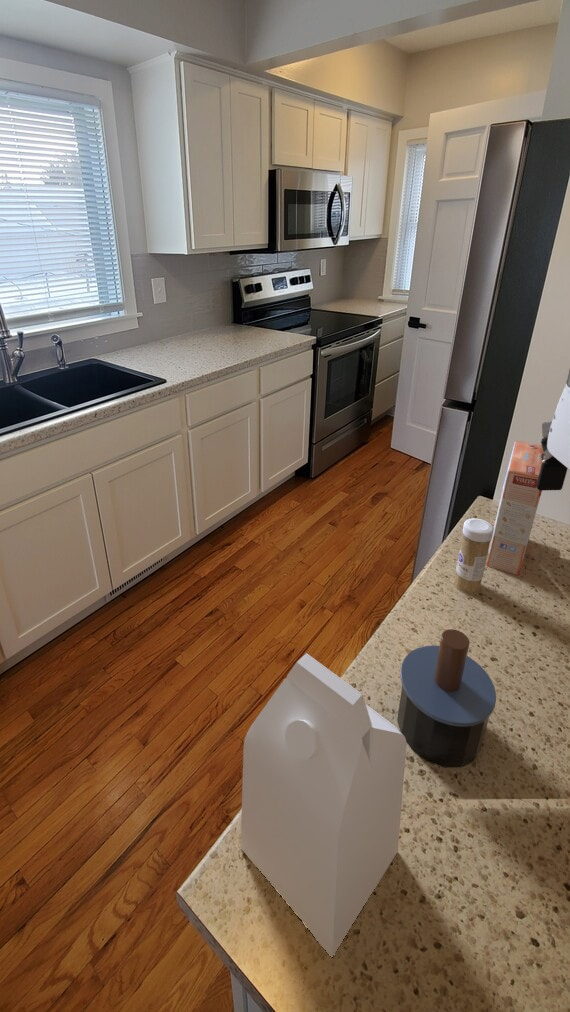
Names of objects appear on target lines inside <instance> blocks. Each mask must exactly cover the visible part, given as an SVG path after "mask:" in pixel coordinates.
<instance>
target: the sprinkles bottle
mask: <svg viewBox="0 0 570 1012" xmlns="http://www.w3.org/2000/svg"><path fill="white" fill-rule="evenodd" d="M493 531H494V525H492V524H491V523H490V522H488V520H487V521H486V520H485V519H481V518H475V517H473V518H468V519H466V520H465V521H464V523H463V526H462V538H461V545H460V548H459V553H458V557H457V562H456V566H455V567H456V568H455V574H454V578H453V581H452V584H453V586H454V588H455V589H456V590H458V591H459V592H460V593H462V594H466V595H475V594H479V593H480V591H481V585H482V580H483V578H484V573H485V569H486V564H487V558H488V553H489V548H490V543H491V539H492V536H493Z"/></svg>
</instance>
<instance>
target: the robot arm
mask: <svg viewBox="0 0 570 1012" xmlns="http://www.w3.org/2000/svg"><path fill="white" fill-rule="evenodd" d="M541 434H542V439H541V440H540V445H542V448H543V453H542V454H541V460H542V461H543V462H545V463H542V465H541V469H540V473H539V477H538V481H537V485H536V488H537V489H538V490H540V491H542V492H543V491H562V490H563V487H564V483H565V479H566V475H567V472H568V470H570V369H569V370H568V374H567V378H566V383H565V385H564V388H563V390H562V393H561V395H560V397H559V400H558V403H557V404H556V409H555V411H554V414H553V417H552V420H551V421H544V422H543V423H541Z"/></svg>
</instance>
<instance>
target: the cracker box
mask: <svg viewBox="0 0 570 1012" xmlns="http://www.w3.org/2000/svg"><path fill="white" fill-rule="evenodd" d="M542 453H543V448H542V444H538V443H537V444H536V443H529V442H526V441H520V440H514V443H513V447H512V451H511V454H510V458H509V461H508V466H507V469H506V474H505V478H504V482H503V486H502V490H501V495H500V499H499V503H498V508H497V512H496V517H495V521H494V525H493V529H494V531H493V536H492V539H491V541H490V544H489V549H488V556H487V560H486V565H485V567H486V566H487V567H490V568H493V569H496V570H500V571H502V572H506V573H509V574H513V575H517V576H519V575H520V573H521V570H522V566H523V562H524V558H525V554H526V551H527V547H528V543H529V539H530V536H531V532H532V529H533V526H534V525H533V524H534V521H535V517H536V514H537V511H538V507H539V503H540V499H541V496H542V492H543V490H542V491H540V490H538V489H537V488H536V485H537V481H538V477H539V473H540V469H541V465H542V463H545V462H543V461H542V460H541V454H542Z"/></svg>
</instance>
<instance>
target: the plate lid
mask: <svg viewBox="0 0 570 1012" xmlns="http://www.w3.org/2000/svg"><path fill="white" fill-rule="evenodd" d="M469 648H470V639H469V637H467V635H466V634H465V633H463V632H462V631H460V630H458V629H455V628H454V629H453V628H449V629H446V630H444V631H443V632H442V633H441V637H440V642H439V645H425V646H420V647H417V648H415V649H413V650H412V651H410V652H409V653H408V654H407V655H406V656H405V657H404V659H403V661H402V663H401V667H400V675H399V676H400V682H401V687H402V686H403V688H404V691H405V692H406V694H407V696H408V697H409V699H410V700H411V701H412V702H413V704H414V705H415V706H416V707H417V708H418V709H420V710H421V711H422V712H423V713H425V714H426V715H428V716H429V717H431V718H433V719H435V720H437V721H439V722H442V723H444V724H448V725H452V726H459V727H468V726H474V725H477V724H480V723H482V722H484V721H485V720H486V719H488V718H489V719H490V717H491V715H492V714H493V712H494V710H495V707H496V703H497V692H496V688H495V685H494V683H493V680H492V679H491V677H490V675H489V674H488V673H487V671H486V670H485V669H484V668H483V667H482V666H481V665H480V664H479V663H478V662H477V661H475V660H474V659H473V658H471V657H470V656H468V652H469Z"/></svg>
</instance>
